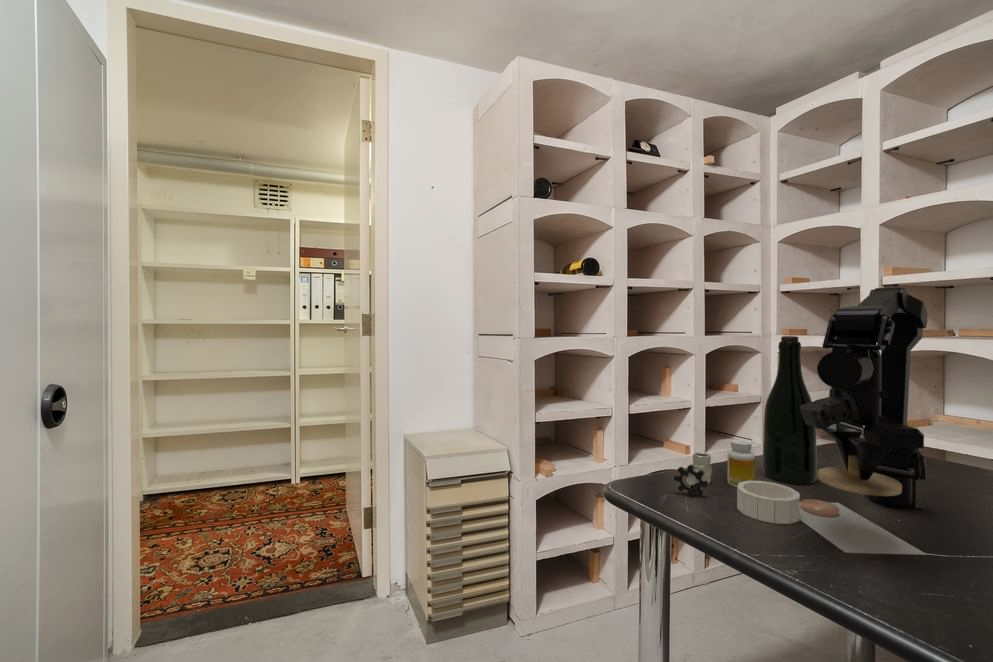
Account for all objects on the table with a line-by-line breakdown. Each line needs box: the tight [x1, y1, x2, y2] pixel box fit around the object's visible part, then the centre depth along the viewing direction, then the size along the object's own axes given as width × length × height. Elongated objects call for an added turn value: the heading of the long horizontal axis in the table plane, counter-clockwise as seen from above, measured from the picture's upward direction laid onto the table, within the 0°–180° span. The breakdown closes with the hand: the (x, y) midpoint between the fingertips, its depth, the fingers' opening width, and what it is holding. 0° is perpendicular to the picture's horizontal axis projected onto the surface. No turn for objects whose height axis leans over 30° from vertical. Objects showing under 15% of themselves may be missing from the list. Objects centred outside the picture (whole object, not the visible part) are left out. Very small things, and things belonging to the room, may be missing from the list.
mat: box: [799, 501, 928, 556], centre depth 80 cm, size 12×20×1 cm, turn 176°
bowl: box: [736, 480, 801, 525], centre depth 86 cm, size 10×10×4 cm
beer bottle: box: [762, 335, 818, 486], centre depth 104 cm, size 10×10×33 cm
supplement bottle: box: [726, 439, 756, 488], centre depth 100 cm, size 5×5×10 cm
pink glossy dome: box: [800, 498, 839, 517], centre depth 86 cm, size 6×6×1 cm
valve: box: [673, 451, 713, 498], centre depth 99 cm, size 7×7×12 cm
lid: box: [817, 455, 902, 496], centre depth 76 cm, size 11×11×4 cm
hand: (858, 476), depth 76 cm, fingers closed on lid, 3 cm apart
